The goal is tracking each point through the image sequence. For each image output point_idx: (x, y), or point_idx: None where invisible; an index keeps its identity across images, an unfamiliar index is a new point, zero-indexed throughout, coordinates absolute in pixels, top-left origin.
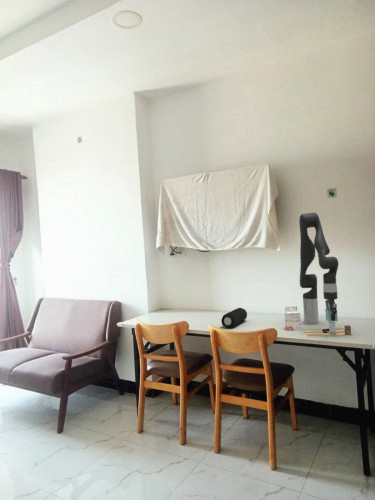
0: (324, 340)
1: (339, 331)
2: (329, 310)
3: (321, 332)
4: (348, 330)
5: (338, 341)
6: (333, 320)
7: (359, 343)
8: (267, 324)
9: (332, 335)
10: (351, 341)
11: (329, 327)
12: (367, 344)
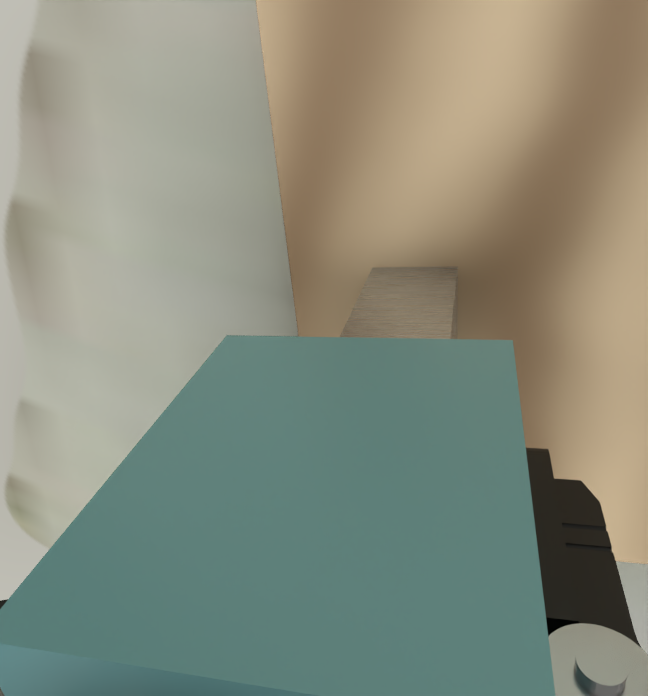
0: (77, 70)
1: (558, 453)
2: (13, 689)
3: (562, 117)
4: None
5: (64, 275)
6: None
7: (32, 467)
8: None
9: (311, 273)
10: (92, 423)
11: (448, 314)
12: (15, 517)
